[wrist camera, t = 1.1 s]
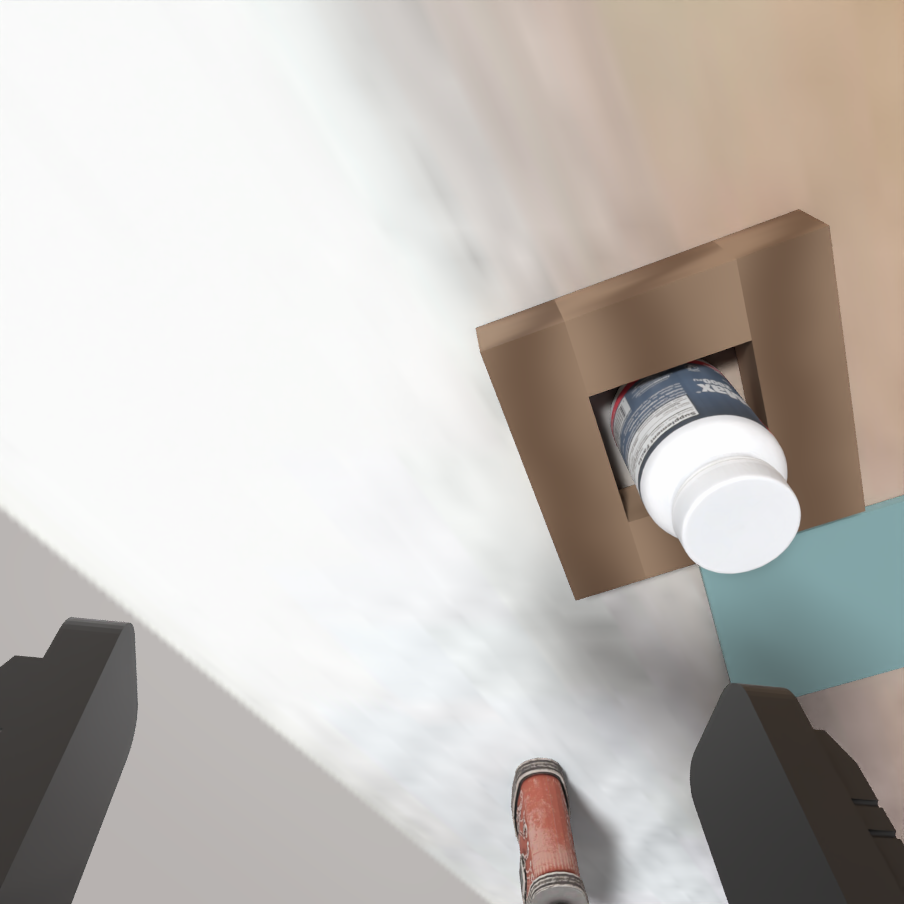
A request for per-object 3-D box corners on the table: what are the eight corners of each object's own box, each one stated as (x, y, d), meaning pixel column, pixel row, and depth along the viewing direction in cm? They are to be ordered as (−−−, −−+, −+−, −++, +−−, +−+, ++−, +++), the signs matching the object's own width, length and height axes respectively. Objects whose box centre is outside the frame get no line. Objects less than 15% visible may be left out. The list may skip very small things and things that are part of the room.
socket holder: (798, 209, 30) (829, 225, 27) (838, 480, 36) (865, 511, 34) (475, 327, 31) (480, 352, 29) (566, 566, 38) (575, 600, 35)
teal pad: (930, 486, 36) (935, 491, 36) (942, 649, 41) (946, 655, 41) (697, 559, 38) (699, 564, 37) (737, 707, 43) (739, 712, 43)
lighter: (507, 760, 44) (530, 943, 36) (567, 755, 44) (604, 937, 36) (514, 847, 48) (535, 1030, 40) (568, 842, 48) (601, 1025, 40)
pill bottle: (754, 405, 34) (854, 524, 26) (660, 481, 35) (728, 614, 28) (677, 326, 32) (761, 430, 24) (582, 412, 34) (631, 534, 26)
